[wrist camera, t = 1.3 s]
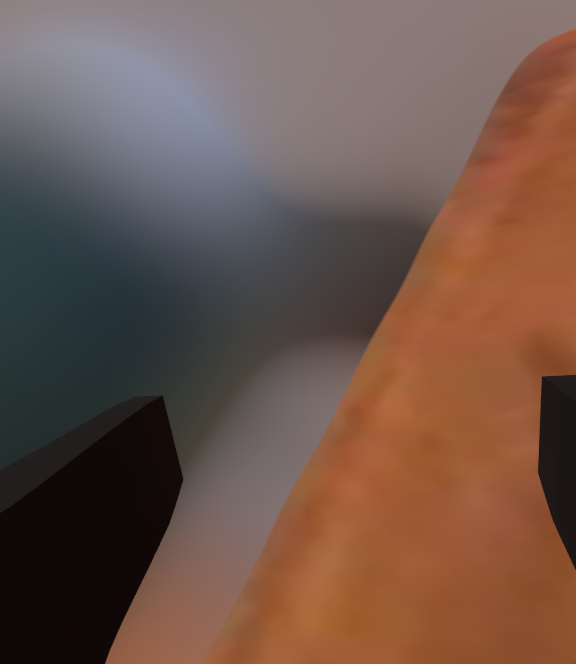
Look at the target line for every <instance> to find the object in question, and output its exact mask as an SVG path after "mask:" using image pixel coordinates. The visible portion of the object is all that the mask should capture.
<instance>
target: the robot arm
mask: <svg viewBox="0 0 576 664" xmlns="http://www.w3.org/2000/svg"><path fill="white" fill-rule="evenodd" d="M538 474H539V477H540V480H541V484H542V487H543V490H544V494H545V497H546V500H547V503H548V506H549V510H550V513H551V516H552V519H553V522H554V524H555V526H556V528H557V531H558V533H559V535H560V537H561V539H562V541H563V544H564V546H565V548H566V550H567V552H568V554H569V557H570V559H571V561H572V563H573V565H574V567H575V569H576V375H566V376H546V377H542V389H541V413H540V438H539V462H538ZM182 482H183V476H182V472H181V468H180V464H179V460H178V456H177V452H176V448H175V444H174V440H173V436H172V431H171V428H170V423H169V419H168V415H167V411H166V407H165V403H164V399H163V396H143V397H133V398H131V399H129V400H126V401H124V402H122V403H120V404H118V405H116V406H114V407H112V408H110V409H108V410H106V411H105V412H103V413H101V414H99V415H98V416H96V417H94V418H92V419H91V420H89V421H87V422H85V423H84V424H82V425H80V426H78V427H77V428H75V429H73V430H72V431H70V432H68V433H67V434H65V435H63V436H61V437H60V438H58V439H56V440H54V441H53V442H51V443H49V444H48V445H46V446H44V447H42V448H40V449H38V450H36V451H34V452H33V453H31V454H29V455H27V456H26V457H23V458H22V459H20V460H18V461H16V462H14V463H12V464H11V465H9V466H7V467H5V468H3V469H1V470H0V664H105V662H106V659H107V657H108V654H109V651H110V648H111V646H112V644H113V642H114V639H115V637H116V635H117V632H118V630H119V628H120V626H121V623H122V621H123V619H124V617H125V615H126V613H127V611H128V609H129V607H130V605H131V603H132V601H133V599H134V597H135V595H136V593H137V590H138V588H139V586H140V584H141V582H142V580H143V578H144V576H145V574H146V572H147V570H148V568H149V566H150V564H151V562H152V560H153V557H154V555H155V553H156V551H157V549H158V547H159V545H160V543H161V541H162V538H163V536H164V534H165V532H166V530H167V527H168V525H169V523H170V520H171V517H172V514H173V511H174V508H175V505H176V502H177V499H178V496H179V492H180V489H181V485H182Z"/></svg>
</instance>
